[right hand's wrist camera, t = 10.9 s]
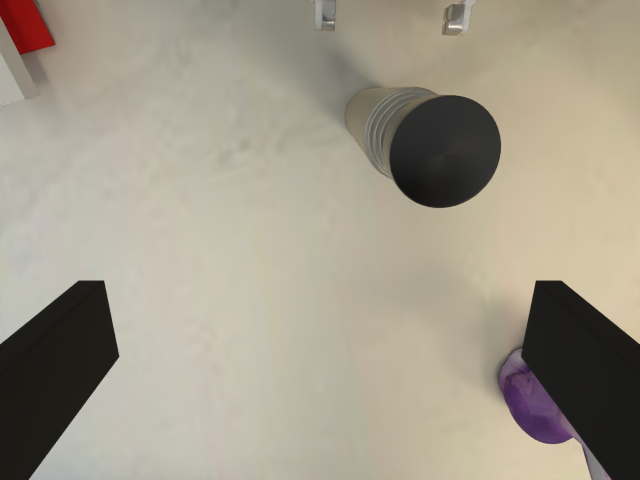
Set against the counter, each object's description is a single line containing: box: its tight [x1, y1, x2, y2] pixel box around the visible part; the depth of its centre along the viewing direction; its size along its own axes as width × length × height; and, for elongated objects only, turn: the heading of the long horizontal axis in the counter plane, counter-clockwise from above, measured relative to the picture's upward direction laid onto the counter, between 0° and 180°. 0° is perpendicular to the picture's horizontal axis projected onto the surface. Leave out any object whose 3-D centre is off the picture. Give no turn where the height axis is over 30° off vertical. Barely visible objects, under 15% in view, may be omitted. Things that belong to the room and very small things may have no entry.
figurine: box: [498, 348, 611, 480], centre depth 40 cm, size 9×10×15 cm
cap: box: [383, 95, 501, 208], centre depth 17 cm, size 4×4×2 cm
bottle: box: [345, 87, 438, 179], centre depth 27 cm, size 5×5×24 cm
